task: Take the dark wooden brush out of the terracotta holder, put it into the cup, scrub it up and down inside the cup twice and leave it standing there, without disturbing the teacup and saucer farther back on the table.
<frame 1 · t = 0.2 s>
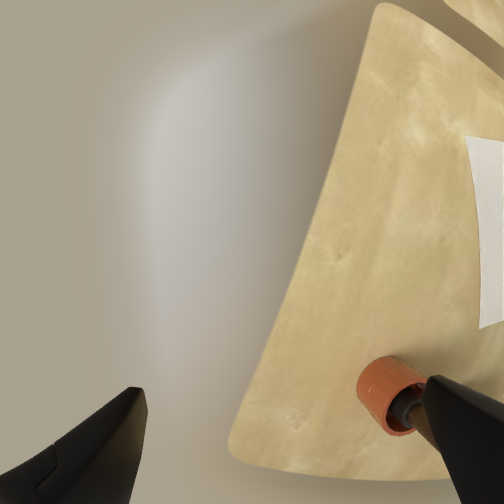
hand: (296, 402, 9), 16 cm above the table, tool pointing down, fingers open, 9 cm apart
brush: (394, 393, 23), point 2 cm above the table, touching holder
holder: (382, 382, 26), on the table
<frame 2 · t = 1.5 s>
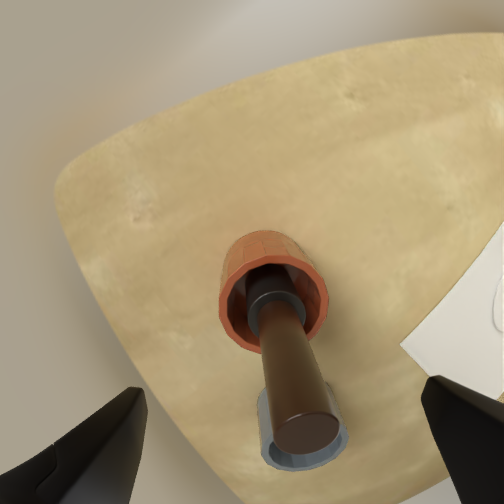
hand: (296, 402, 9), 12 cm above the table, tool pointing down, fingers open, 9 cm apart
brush: (268, 285, 18), point 2 cm above the table, touching holder
cup: (294, 402, 23), on the table
holder: (264, 271, 20), on the table
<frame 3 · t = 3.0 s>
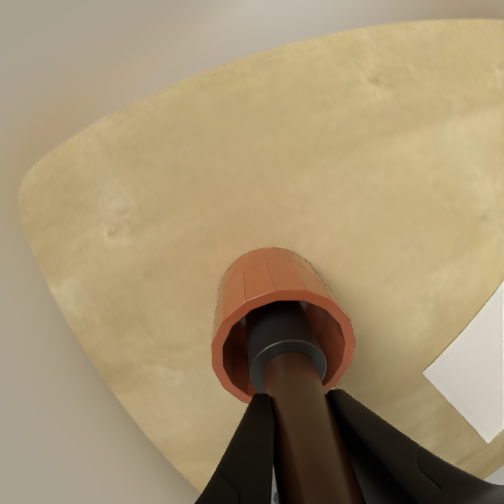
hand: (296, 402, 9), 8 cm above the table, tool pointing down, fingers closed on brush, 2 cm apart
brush: (275, 319, 14), point 3 cm above the table, touching gripper, holder
holder: (269, 296, 16), on the table
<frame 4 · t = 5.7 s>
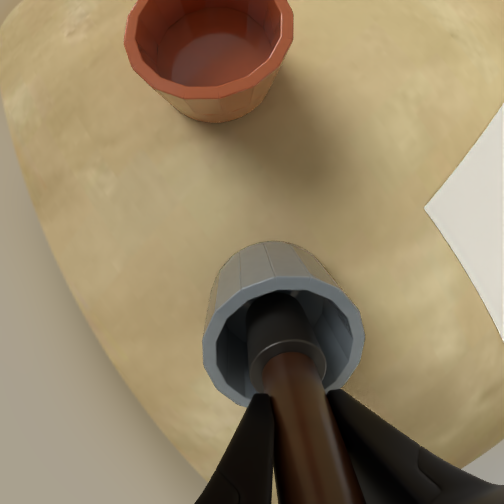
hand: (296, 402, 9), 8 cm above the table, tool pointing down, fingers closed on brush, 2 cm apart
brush: (275, 319, 14), point 2 cm above the table, touching gripper
cup: (271, 299, 16), on the table
holder: (216, 70, 13), on the table
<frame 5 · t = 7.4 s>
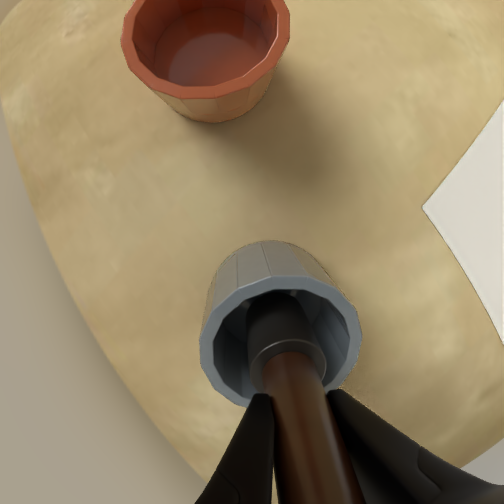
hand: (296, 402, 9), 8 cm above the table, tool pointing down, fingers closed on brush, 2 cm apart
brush: (275, 318, 14), point 2 cm above the table, touching gripper
cup: (269, 299, 16), on the table
holder: (214, 70, 13), on the table
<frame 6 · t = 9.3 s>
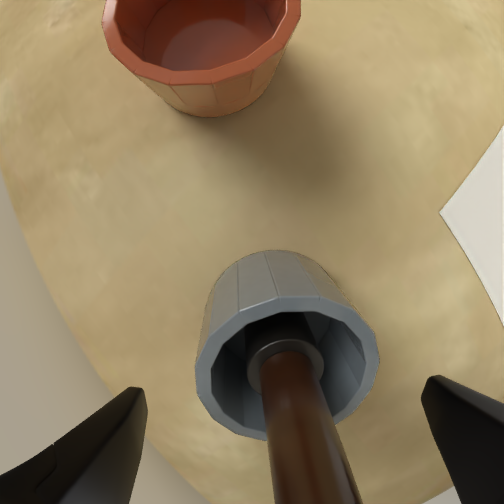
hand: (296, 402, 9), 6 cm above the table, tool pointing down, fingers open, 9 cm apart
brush: (273, 318, 14), resting on cup
cup: (273, 313, 14), on the table
holder: (212, 58, 11), on the table
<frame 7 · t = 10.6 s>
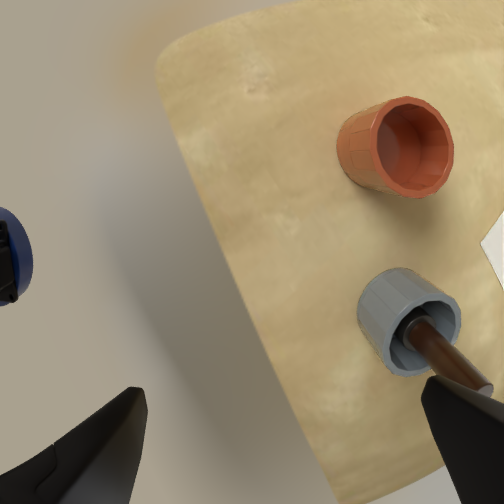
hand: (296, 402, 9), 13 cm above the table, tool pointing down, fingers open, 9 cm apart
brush: (395, 308, 22), resting on cup
cup: (393, 305, 22), on the table
holder: (373, 149, 19), on the table
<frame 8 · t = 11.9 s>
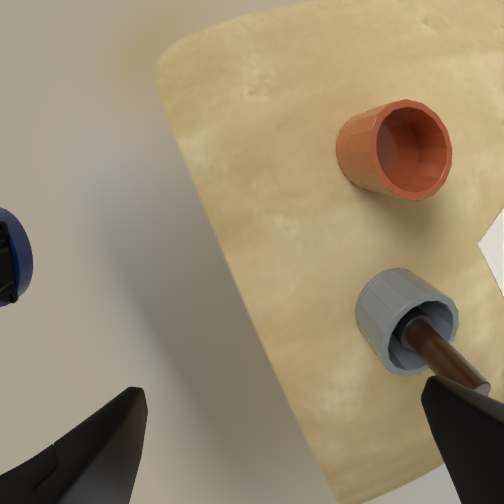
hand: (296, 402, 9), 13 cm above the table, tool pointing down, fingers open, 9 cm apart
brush: (393, 308, 22), resting on cup
cup: (391, 305, 22), on the table
holder: (372, 151, 19), on the table
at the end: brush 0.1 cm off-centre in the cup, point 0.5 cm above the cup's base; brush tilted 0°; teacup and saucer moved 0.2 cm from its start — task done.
